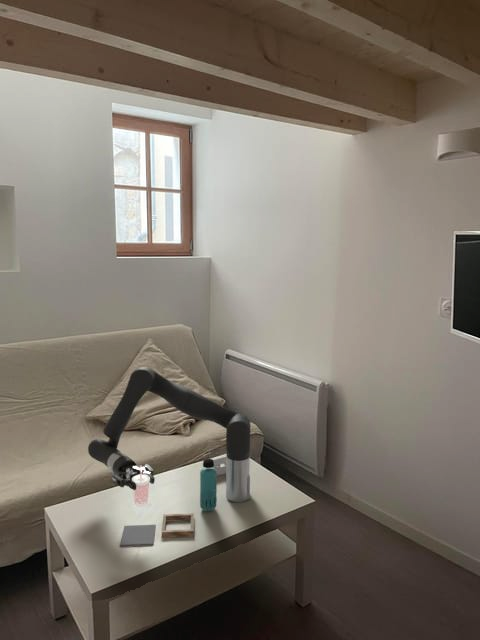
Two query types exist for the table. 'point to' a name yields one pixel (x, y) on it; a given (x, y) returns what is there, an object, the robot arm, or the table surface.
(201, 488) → the beverage bottle
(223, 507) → the table surface
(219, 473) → the cassette
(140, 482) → the beverage cup
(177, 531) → the walnut holder
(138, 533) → the rubber mat
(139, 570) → the table surface
